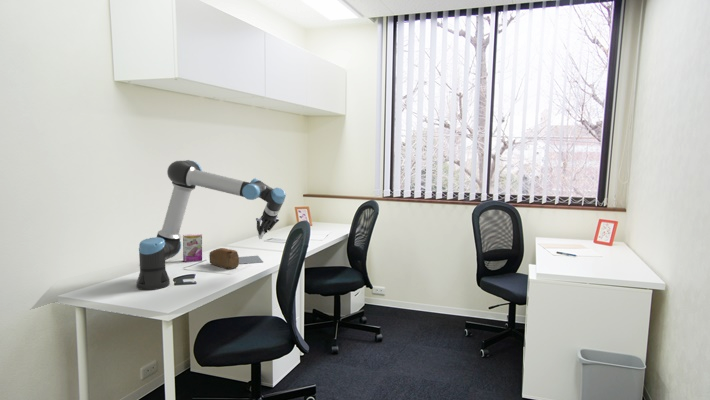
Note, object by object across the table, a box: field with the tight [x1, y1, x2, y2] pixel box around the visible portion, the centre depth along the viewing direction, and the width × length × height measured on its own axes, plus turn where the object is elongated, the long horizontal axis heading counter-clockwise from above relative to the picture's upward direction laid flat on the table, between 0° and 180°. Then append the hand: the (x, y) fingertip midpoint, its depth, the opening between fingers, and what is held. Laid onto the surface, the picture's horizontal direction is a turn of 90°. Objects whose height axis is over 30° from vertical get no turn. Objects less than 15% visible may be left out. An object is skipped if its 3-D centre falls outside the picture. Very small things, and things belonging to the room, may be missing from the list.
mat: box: [239, 255, 264, 265], centre depth 273 cm, size 20×18×1 cm
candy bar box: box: [182, 233, 203, 263], centre depth 270 cm, size 11×5×16 cm, turn 111°
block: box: [208, 247, 240, 269], centre depth 258 cm, size 11×8×20 cm
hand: (259, 237), depth 246 cm, fingers closed
